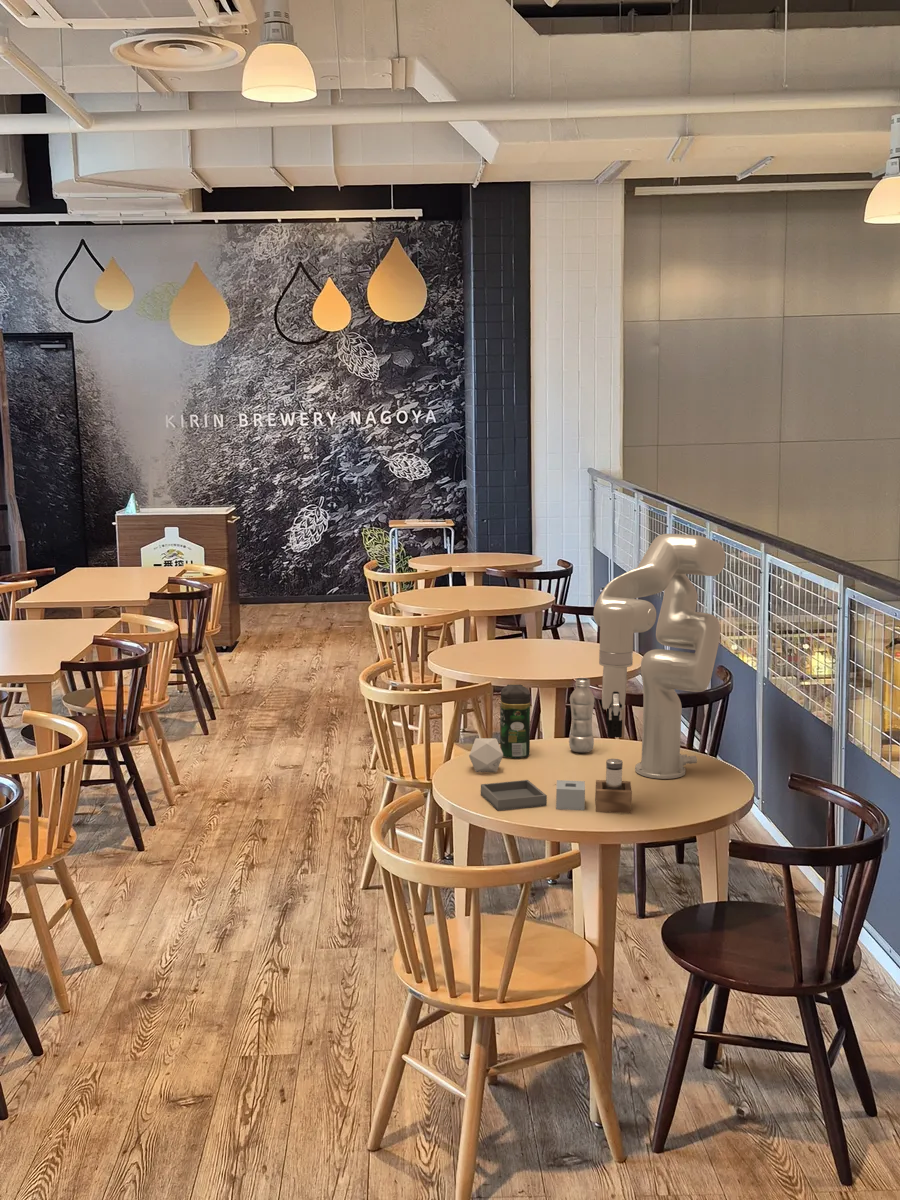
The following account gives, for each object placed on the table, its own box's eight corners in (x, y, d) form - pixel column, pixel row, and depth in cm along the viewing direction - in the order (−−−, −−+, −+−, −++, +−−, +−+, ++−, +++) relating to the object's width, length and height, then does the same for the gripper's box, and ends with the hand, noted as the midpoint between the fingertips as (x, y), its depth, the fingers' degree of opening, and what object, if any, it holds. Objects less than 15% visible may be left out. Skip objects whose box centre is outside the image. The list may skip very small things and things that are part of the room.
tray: (527, 789, 280) (527, 779, 279) (546, 805, 268) (546, 795, 268) (480, 794, 276) (480, 784, 276) (497, 810, 265) (498, 800, 264)
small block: (584, 801, 272) (584, 781, 271) (584, 811, 266) (584, 790, 265) (556, 800, 273) (556, 780, 272) (555, 809, 266) (556, 788, 266)
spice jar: (616, 803, 271) (618, 757, 269) (623, 808, 267) (625, 762, 265) (602, 804, 269) (603, 759, 268) (609, 810, 266) (610, 763, 264)
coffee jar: (498, 749, 314) (499, 682, 311) (527, 749, 314) (529, 682, 311) (500, 759, 304) (501, 690, 301) (530, 759, 304) (532, 690, 301)
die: (491, 780, 289) (512, 746, 291) (461, 761, 290) (481, 727, 291) (490, 782, 297) (510, 749, 299) (460, 763, 298) (480, 730, 300)
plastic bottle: (593, 756, 308) (595, 682, 305) (567, 754, 309) (569, 681, 306) (594, 749, 314) (596, 677, 311) (569, 747, 315) (571, 676, 312)
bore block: (629, 801, 272) (630, 781, 271) (631, 813, 264) (631, 792, 263) (595, 800, 273) (595, 779, 272) (595, 811, 265) (596, 790, 264)
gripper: (598, 649, 271) (596, 720, 274) (600, 665, 254) (598, 741, 257) (630, 650, 271) (628, 721, 273) (634, 666, 254) (632, 742, 256)
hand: (613, 731), depth 265 cm, fingers open, 9 cm apart
